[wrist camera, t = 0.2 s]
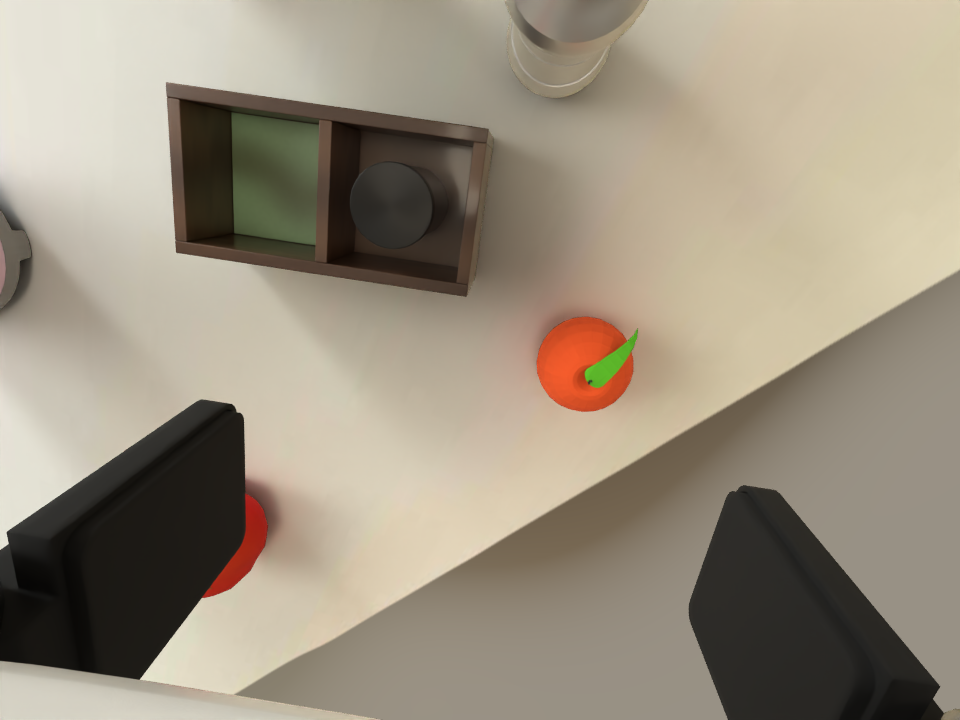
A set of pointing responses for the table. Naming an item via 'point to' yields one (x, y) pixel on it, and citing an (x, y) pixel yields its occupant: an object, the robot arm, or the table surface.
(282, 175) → the brown wooden divided box
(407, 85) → the table surface
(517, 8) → the silver metal bottle
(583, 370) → the clementine
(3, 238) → the blender
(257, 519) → the tomato
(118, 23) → the table surface
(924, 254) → the table surface
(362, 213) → the spice tin
